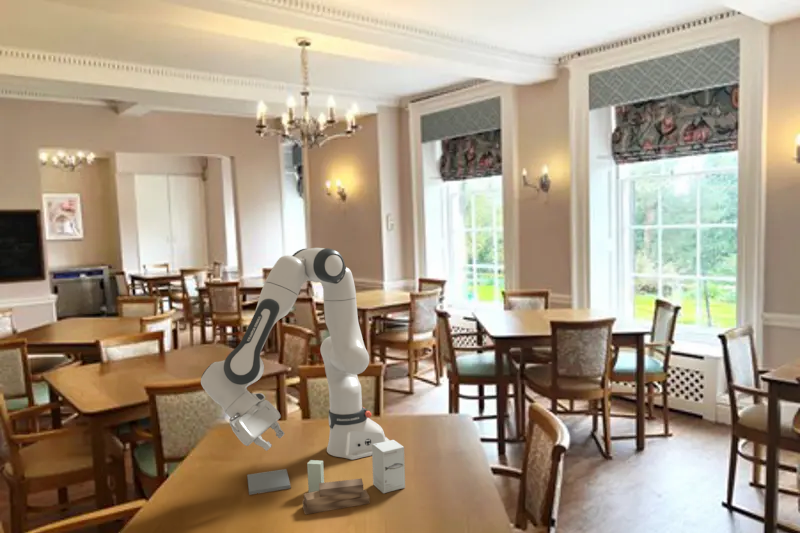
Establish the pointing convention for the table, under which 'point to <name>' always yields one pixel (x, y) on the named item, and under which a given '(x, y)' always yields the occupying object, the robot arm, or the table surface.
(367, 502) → the offcut stack
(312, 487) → the tall block
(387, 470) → the supplement box
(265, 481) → the slate mat
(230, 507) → the table surface
